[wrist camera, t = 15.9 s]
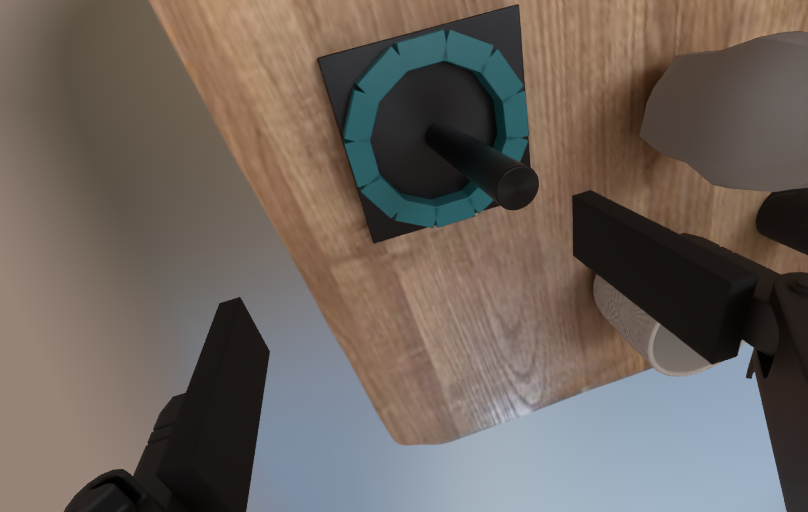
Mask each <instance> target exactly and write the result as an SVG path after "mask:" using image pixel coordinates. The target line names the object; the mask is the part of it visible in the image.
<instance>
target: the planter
mask: <svg viewBox="0 0 808 512" xmlns="http://www.w3.org/2000/svg"><path fill="white" fill-rule="evenodd" d="M593 295H594V299H595V302H596V305H597V307H598V308H599V310H600V312H601V313H602V314H603V316H604V317H605V318H606V319H607V321H608V322H609V323H610V324H611V325H612V326H613V327H614V328H615V330H616V331H617V332H618V333H619V334H620V335H621V336H622V337H623V338H624V339H625V340H626V341H627V342H628V343H629V344H630V345H631V346H632V347H633V348H634V349H635V350H636V351H637V352H638V353H639V354H640V355H641V356H642V357H643V358H644V359H645V360H646V361H647V362H648V363H649V364H650V365H651V366H652V367H653V368H654V369H655V370H657V371H658V372H660V373H662V374H665V375H668V376H687V375H692V374H696V373H699V372H702V371H704V370H707V369H709V368H711V367H713V366H715V365H717V364H719V363H720V362H719V363H716V364H713V365H712V364H710V363H709V362H708V361H707V360H705V359H704V358H703V357H701V356H700V355H699V354H698V353H696V352H695V351H694V350H693V349H691V348H690V347H689V346H687V345H686V344H685V343H684V342H682V341H681V340H680V339H679V338H677V337H676V336H675V335H674V334H672V333H671V332H670V331H668V330H667V329H666V328H665V327H663V326H662V325H661V324H660V323H658V322H657V321H656V320H654V319H653V318H652V317H651V316H649V315H648V314H647V313H646V312H644V311H643V310H642V309H640V308H639V307H638V306H637V305H635V304H634V303H633V302H632V301H630V300H629V299H628V298H627V297H625V296H624V295H623V294H621V293H620V292H619V291H618V290H616V289H615V288H614V287H613V286H611V285H610V284H609V283H607V282H606V281H605V280H604V279H602V278H601V277H600V276H599V275H597V274H596V276H595V280H594V285H593ZM744 343H745V341H744V340H741V344H740V347H741V346H742V345H743V344H744ZM740 347H739V348H740Z"/></svg>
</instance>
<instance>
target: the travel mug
mask: <svg viewBox="0 0 808 512" xmlns="http://www.w3.org/2000/svg"><path fill="white" fill-rule="evenodd" d="M756 223H757V229H758V231H759V232H760V233H761V234H762V235H764V236H766V237H768V238H770V239H772V240H774V241H777V242H779V243H781V244H783V245H786V246H788V247H790V248H792V249H795V250H797V251H799V252H801V253H804V254H806V255H808V188H799V189H790V190H784V191H778V192H773V193H772V194H771V195H770V196H769V197H768V198H767V200H766V201H765V202H764V204H763V205H762V207H761V209H760V211H759V213H758V216H757V222H756Z"/></svg>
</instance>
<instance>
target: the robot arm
mask: <svg viewBox="0 0 808 512" xmlns="http://www.w3.org/2000/svg"><path fill="white" fill-rule="evenodd" d="M572 204H573V256H574V257H576V258H577V259H578V260H579V261H581V262H582V263H583V264H585V265H586V266H587V267H588V268H590V269H591V270H592V271H593V272H595V273H596V274H597V275H599V276H600V277H601V278H602V279H604V280H605V281H606V282H607V283H609V284H610V285H611V286H613V287H614V288H615V289H616V290H618V291H619V292H620V293H621V294H623V295H624V296H625V297H627V298H628V299H629V300H630V301H632V302H633V303H634V304H635V305H637V306H638V307H639V308H640V309H642V310H643V311H644V312H646V313H647V314H648V315H649V316H651V317H652V318H653V319H654V320H656V321H657V322H658V323H660V324H661V325H662V326H663V327H665V328H666V329H667V330H668V331H670V332H671V333H672V334H674V335H675V336H676V337H677V338H679V339H680V340H681V341H682V342H684V343H685V344H686V345H687V346H689V347H690V348H691V349H693V350H694V351H695V352H696V353H698V354H699V355H700V356H701V357H703V358H704V359H705V360H707V361H708V362H709V363H710V364H712V365H713V364H716V363H719V362H722V361H724V360H728V359H731V358H733V357H736V356H737V355H738V351H739V347H740V344H741V340H744V341H745V342H747V343H748V344H750V345H751V346H753V347H754V350H753V353H752V357H751V360H750V363H749V367H748V370H747V374H746V378H750V379H751V378H752V375H753V373H754V372H755V374H756V378H757V383H758V387H759V392H760V396H761V400H762V405H763V409H764V414H765V418H766V422H767V427H768V430H769V435H770V440H771V444H772V449H773V453H774V457H775V462H776V466H777V471H778V475H779V479H780V484H781V488H782V493H783V497H784V502H785V506H786V510H787V512H808V273H804V272H794V273H786V274H782V275H781V274H779V273H776V272H774V271H772V270H770V269H768V268H766V267H764V266H762V265H760V264H758V263H755V262H753V261H751V260H749V259H747V258H745V257H743V256H741V255H739V254H737V253H732V251H730V250H728V249H726V248H724V247H720V246H719V245H718V244H716V243H714V242H712V241H709V240H707V239H705V238H703V237H699V236H695V235H691V234H686V233H682V234H677V233H675V232H673V231H671V230H669V229H667V228H665V227H663V226H661V225H659V224H657V223H655V222H653V221H651V220H649V219H647V218H645V217H643V216H641V215H639V214H637V213H635V212H633V211H631V210H629V209H627V208H625V207H623V206H621V205H619V204H617V203H615V202H613V201H611V200H609V199H607V198H605V197H603V196H601V195H599V194H597V193H595V192H593V191H591V190H589V191H586V192H583V193H579V194H576V195H573V196H572ZM269 353H270V351H269V349H268V347H267V346H266V344H265V342H264V340H263V338H262V336H261V334H260V333H259V331H258V329H257V327H256V325H255V323H254V322H253V320H252V318H251V316H250V314H249V312H248V311H247V309H246V307H245V305H244V303H243V301H242V300H241V298H240V297H239V298H236V299H232V300H229V301H226V302H222V303H220V304H219V306H218V309H217V311H216V314H215V317H214V319H213V322H212V325H211V327H210V330H209V333H208V335H207V338H206V341H205V343H204V346H203V349H202V351H201V354H200V357H199V360H198V362H197V365H196V367H195V370H194V373H193V375H192V378H191V381H190V383H189V386H188V389H187V391H186V393H184V394H180V395H177V396H174V397H172V399H171V400H170V401H169V402H168V404H167V405H166V406H165V407H164V409H163V410H162V411H161V412H160V414H159V417H158V419H157V422H156V424H155V426H154V428H153V430H154V432H152V433H151V435H150V438H149V440H148V445H147V446H146V447H145V450H144V452H143V454H142V456H141V459H140V461H139V463H138V466H137V468H136V471H135V473H134V475H133V476H132V475H131V474H129V473H128V472H127V471H125V470H123V469H117V470H112V471H109V472H107V473H104V474H102V475H100V476H98V477H97V478H95V479H94V480H92V481H91V482H89V483H88V484H87V485H86V486H85V487H84V488H83V489H82V490H80V491H79V492H78V493H77V494H76V495H75V496H74V498H73V499H72V500H71V502H70V503H69V504H68V506H67V507H66V508H65V511H64V512H246V509H247V502H248V495H249V489H250V482H251V475H252V467H253V462H254V455H255V448H256V441H257V435H258V428H259V421H260V414H261V407H262V400H263V393H264V387H265V380H266V373H267V367H268V360H269Z"/></svg>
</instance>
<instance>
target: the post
mask: <svg viewBox="0 0 808 512" xmlns="http://www.w3.org/2000/svg"><path fill="white" fill-rule="evenodd" d="M439 30H444V31H446V30H453V31H455V32H458V33H461V34H464V35H466V36H469V37H472V38H475V39H477V40H480V41H483V42H486V43H488V44H491V45H493V49H498V50H499V51H500V53H501V54H502V56H503V57H504V58H505V60H506V61H507V63H508V64H509V66H510V67H511V68H512V70H513V71H514V73H515V74H516V76H517V77H518V78H519V80H520V81H521V83H522V84H523V87H522V88H521V89H520V90H522V91H525V83H524V69H523V55H522V41H521V27H520V13H519V5H518V4H517V5H513V6H509V7H506V8H502V9H498V10H494V11H491V12H487V13H483V14H479V15H476V16H472V17H468V18H465V19H461V20H457V21H453V22H450V23H446V24H442V25H438V26H435V27H431V28H427V29H423V30H420V31H416V32H412V33H408V34H405V35H401V36H397V37H393V38H390V39H386V40H382V41H378V42H375V43H371V44H367V45H363V46H360V47H356V48H352V49H349V50H345V51H341V52H337V53H334V54H330V55H326V56H322V57H319V58H317V60H318V63H319V66H320V70H321V73H322V76H323V79H324V83H325V86H326V89H327V93H328V96H329V99H330V102H331V106H332V109H333V112H334V115H335V119H336V122H337V125H338V129H339V132H340V135H341V138H342V142H343V139H344V136H343V130H344V125H345V121H346V116H347V111H348V106H349V102H350V97H351V92H352V89H353V88H354V89H357V90H361V89H360V88H359V87H358V86H357V85H356V84H355V82H356V81H357V80H358V79H359V78H360V77H361V75H362V74H363V73H364V72H365V71H366V70H367V69H368V68H369V66H370V65H371V64H372V63H373V62H374V61H375V60H376V59H377V57H378V56H379V55H380V54H381V53H382V52H383V51H384V50H385V48H386V47H391V46H392V44H393V43H395V42H399V41H403V40H406V39H410V38H413V37H417V36H420V35H424V34H427V33H431V32H434V31H439ZM392 47H393V46H392ZM361 91H362V90H361ZM496 137H497V126H496V118H495V110H494V101H493V99H492V97H491V96H490V95H489V93H488V92H487V91H486V89H485V88H484V87H483V85H482V84H481V83H480V81H479V80H478V79H477V78H476V76H475V75H474V74H473V72H471V71H468V70H465V69H462V68H459V67H456V66H453V65H450V64H447V63H444V62H439V63H436V64H432V65H429V66H425V67H422V68H418V69H415V70H411V71H408V72H406V74H405V75H404V76H403V77H402V78H401V79H400V80H399V81H398V82H397V83H396V84H395V86H394V87H393V88H392V89H391V90H390V91H389V92H388V93H387V94H386V95H385V96H384V98H383V99H382V100H381V101H380V102H379V106H378V110H377V114H376V118H375V123H374V127H373V131H372V135H371V139H370V142H371V146H372V149H373V153H374V156H375V160H376V163H377V167H378V171H379V173H380V174H381V175H382V176H383V177H384V178H385V179H386V180H388V181H389V182H390V183H391V184H392V185H393V186H394V187H395V188H396V189H397V190H398V191H399V192H400V193H403V194H407V195H412V196H417V197H421V198H426V199H430V200H432V199H435V198H438V197H441V196H445V195H448V194H451V193H454V192H458V191H461V190H462V189H463V188H464V187H465V186H466V185H467V184H468V183H469V182H470V181H471V182H472V183H474V184H475V185H476V186H477V187H479V188H480V189H481V190H482V191H483V192H485V193H486V194H487V195H488V196H489V197H491V198H492V199H493V201H492V202H491V203H490V204H489V205H488V206H487V207H486V208H485V209H484V210H487V209H490V208H493V207H497V206H502V207H503V208H505V209H508V210H518V209H521V208H524V207H525V206H527V205H528V204H529V203H530V202H531V201H532V200H533V199H534V197H535V196H536V194H537V191H538V187H539V181H538V177H537V174H536V173H535V171H534V170H533V169H531V167H530V153H529V139H528V136H525V137H522V138H523V139H526V140H528V143H527V145H526V148H525V150H524V153H523V155H522V158H521V160H520V162H518V161H517V160H515V159H513V158H511V157H509V156H507V155H505V154H503V153H502V152H500V151H498V150H496V149H494V148H493V145H494V142H495V139H496ZM343 145H344V142H343ZM344 148H345V145H344ZM345 151H346V148H345ZM346 155H347V151H346ZM347 158H348V155H347ZM348 161H349V158H348ZM349 164H350V161H349ZM350 168H351V171H352V174H353V170H352V167H351V164H350ZM353 178H354V181H355V184H356V187H357V191H358V194H359V197H360V200H361V204H362V207H363V210H364V214H365V217H366V220H367V223H368V227H369V230H370V233H371V236H372V240H373V243H377V242H380V241H384V240H387V239H390V238H394V237H397V236H400V235H404V234H407V233H410V232H414V231H417V230H420V229H424V228H427V227H425V226H420V225H415V224H410V223H405V222H400V221H395V219H394V217H392V218H390V217H389V216H387V215H386V214H385V213H384V212H383V211H382V210H381V209H380V208H378V207H377V206H376V205H375V204H374V203H373V202H372V201H371V200H370V199H368V198H367V197H366V196H365V195H364V194H363V193H362V192H361V190H360V187H358V186H357V183H356V180H355V177H354V174H353ZM474 211H475V213H477V211H476V210H475V209H474ZM434 225H436V224H434Z"/></svg>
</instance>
